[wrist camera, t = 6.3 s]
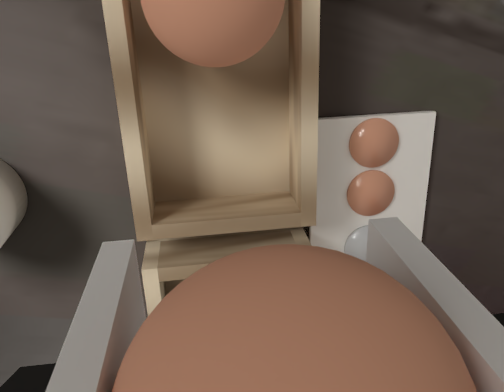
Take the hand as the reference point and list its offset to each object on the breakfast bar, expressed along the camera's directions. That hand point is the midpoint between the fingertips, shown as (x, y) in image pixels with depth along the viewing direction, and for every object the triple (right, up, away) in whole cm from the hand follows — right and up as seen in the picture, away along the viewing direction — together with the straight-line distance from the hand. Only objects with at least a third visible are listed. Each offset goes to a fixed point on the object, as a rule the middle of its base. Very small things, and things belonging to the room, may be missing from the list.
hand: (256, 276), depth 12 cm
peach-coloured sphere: (-2, +12, +10) cm, 16 cm away
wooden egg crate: (-2, +9, +12) cm, 15 cm away
